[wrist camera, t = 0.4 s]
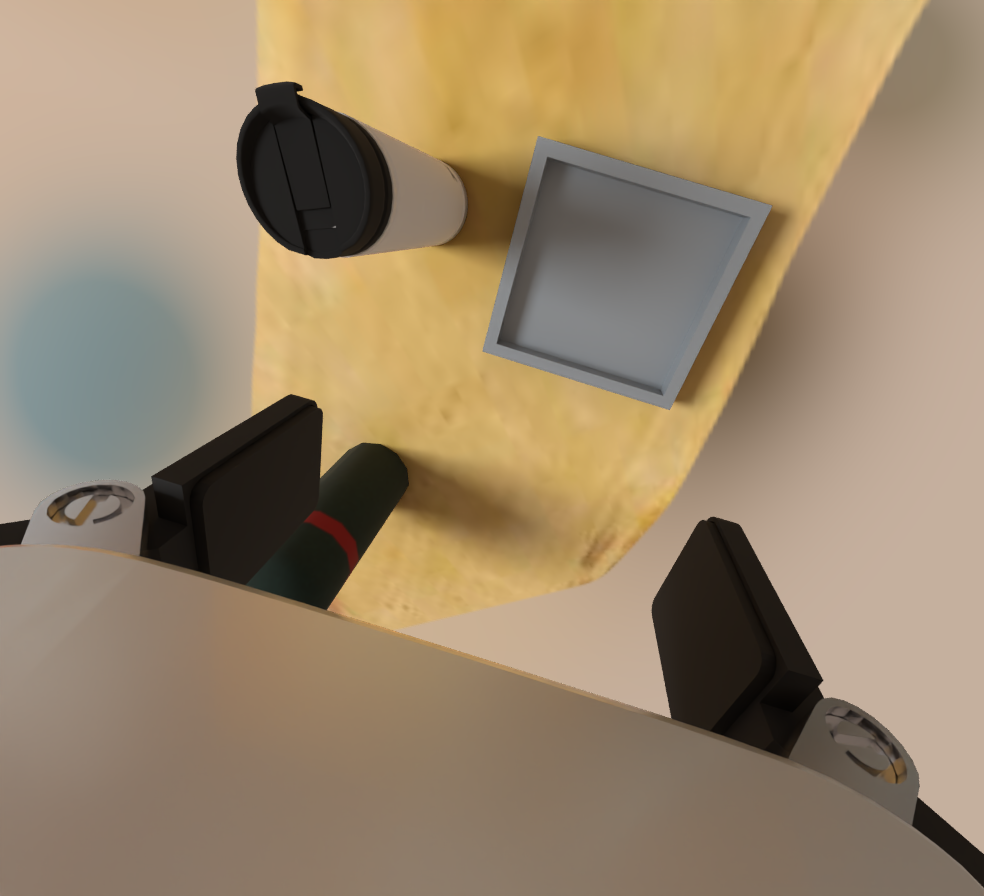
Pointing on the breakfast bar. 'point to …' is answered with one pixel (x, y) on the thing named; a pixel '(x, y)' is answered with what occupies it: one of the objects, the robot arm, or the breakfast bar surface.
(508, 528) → the breakfast bar surface
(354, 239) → the travel mug
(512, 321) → the tray
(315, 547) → the wine bottle
